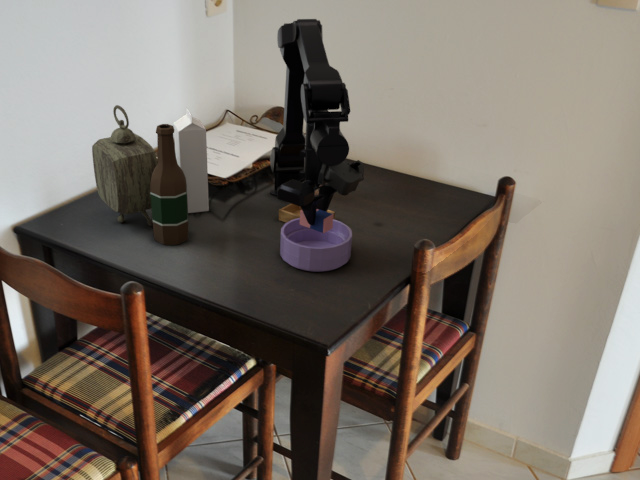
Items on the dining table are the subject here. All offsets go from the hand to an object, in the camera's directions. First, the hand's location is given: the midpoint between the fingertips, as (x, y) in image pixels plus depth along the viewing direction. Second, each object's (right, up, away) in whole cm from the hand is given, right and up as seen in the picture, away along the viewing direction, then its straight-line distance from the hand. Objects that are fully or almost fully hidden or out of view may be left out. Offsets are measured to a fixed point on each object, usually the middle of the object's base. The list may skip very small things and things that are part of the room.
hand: (316, 221), depth 150 cm
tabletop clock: (-40, +3, +17) cm, 44 cm away
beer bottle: (-30, -2, +10) cm, 32 cm away
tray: (-1, +3, +18) cm, 18 cm away
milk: (-27, +7, +23) cm, 36 cm away
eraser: (0, -1, +1) cm, 1 cm away
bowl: (0, -6, +4) cm, 8 cm away
